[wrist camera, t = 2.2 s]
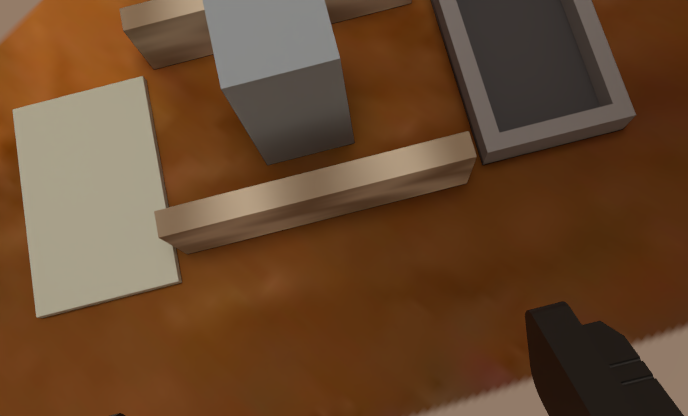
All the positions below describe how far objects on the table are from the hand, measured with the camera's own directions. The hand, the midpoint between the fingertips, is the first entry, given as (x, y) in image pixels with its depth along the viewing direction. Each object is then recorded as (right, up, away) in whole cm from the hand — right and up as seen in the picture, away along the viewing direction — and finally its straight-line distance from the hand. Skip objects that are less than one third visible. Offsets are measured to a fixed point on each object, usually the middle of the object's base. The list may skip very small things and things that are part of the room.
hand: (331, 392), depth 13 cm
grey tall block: (-2, +8, +20) cm, 22 cm away
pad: (-12, +4, +20) cm, 24 cm away
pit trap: (+9, +11, +20) cm, 25 cm away
